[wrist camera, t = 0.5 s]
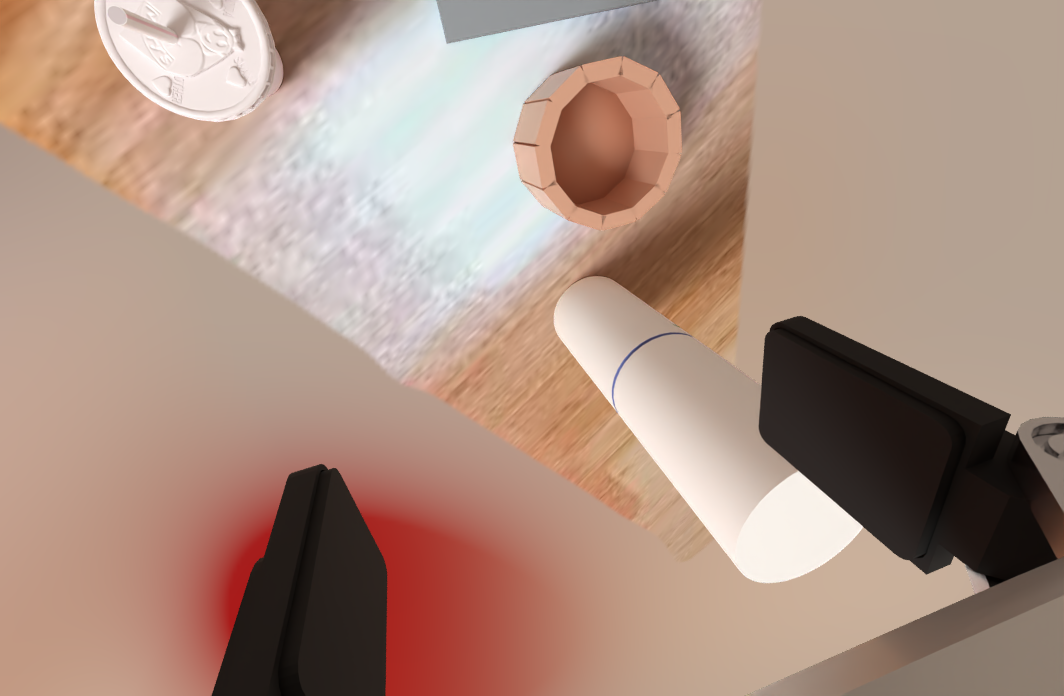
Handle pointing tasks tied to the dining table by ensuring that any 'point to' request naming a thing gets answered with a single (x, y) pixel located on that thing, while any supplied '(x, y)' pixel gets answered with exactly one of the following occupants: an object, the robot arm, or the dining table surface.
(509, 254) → the dining table surface
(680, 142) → the bowl
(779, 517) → the cylindrical container
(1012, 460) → the robot arm
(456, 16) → the mat
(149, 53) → the smoothie
